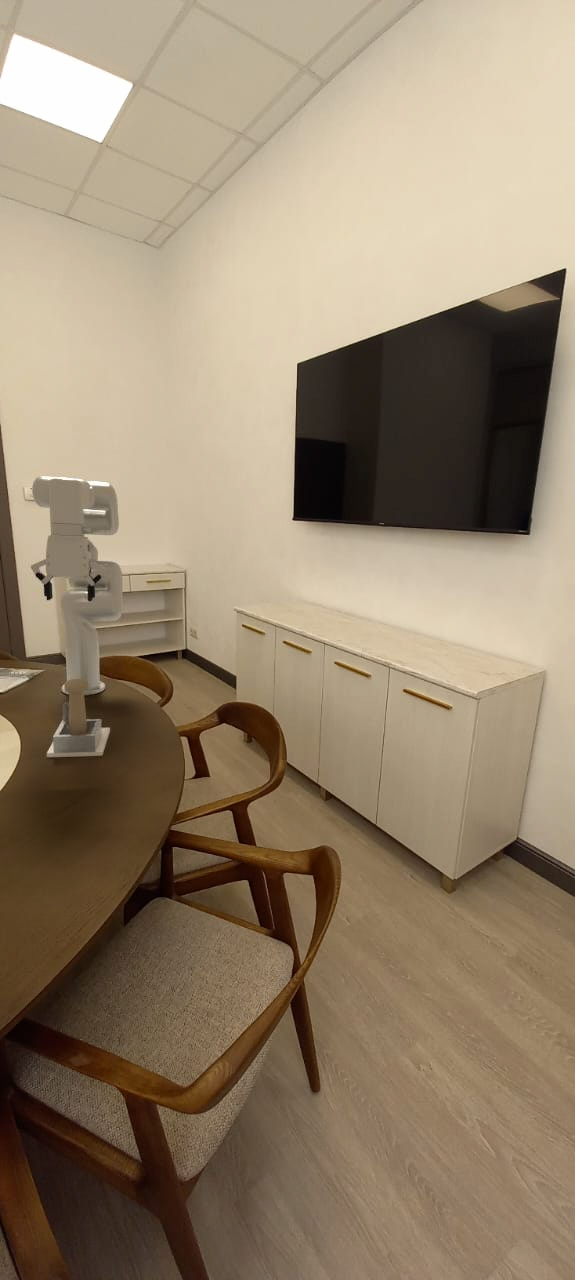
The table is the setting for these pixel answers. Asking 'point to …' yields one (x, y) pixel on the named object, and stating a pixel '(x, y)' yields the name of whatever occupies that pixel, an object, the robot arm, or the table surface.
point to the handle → (76, 705)
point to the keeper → (78, 739)
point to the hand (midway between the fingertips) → (70, 599)
